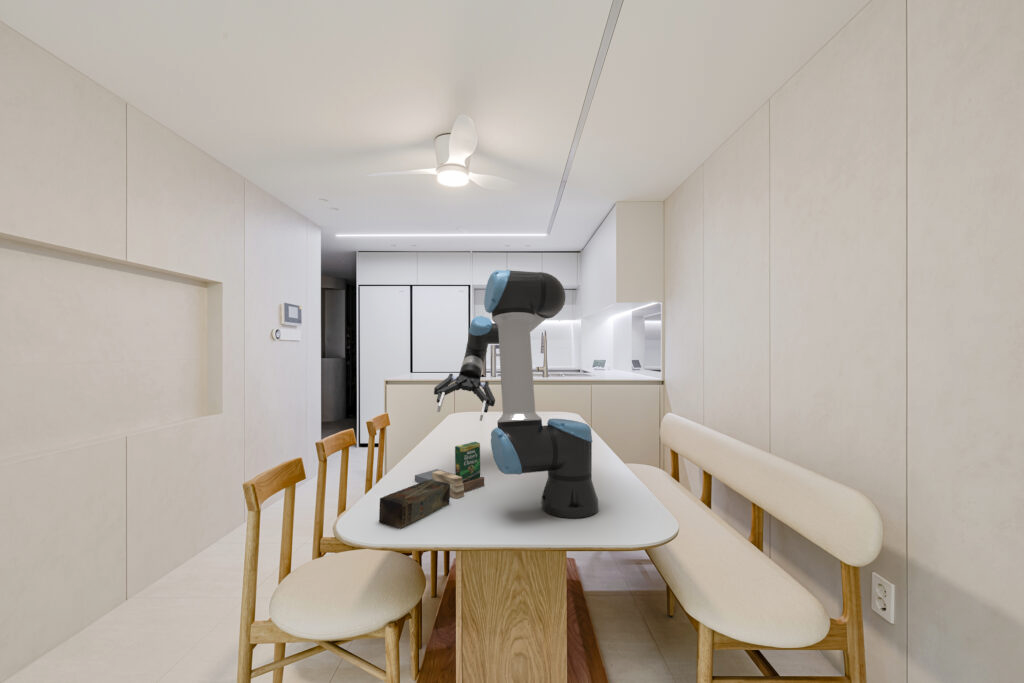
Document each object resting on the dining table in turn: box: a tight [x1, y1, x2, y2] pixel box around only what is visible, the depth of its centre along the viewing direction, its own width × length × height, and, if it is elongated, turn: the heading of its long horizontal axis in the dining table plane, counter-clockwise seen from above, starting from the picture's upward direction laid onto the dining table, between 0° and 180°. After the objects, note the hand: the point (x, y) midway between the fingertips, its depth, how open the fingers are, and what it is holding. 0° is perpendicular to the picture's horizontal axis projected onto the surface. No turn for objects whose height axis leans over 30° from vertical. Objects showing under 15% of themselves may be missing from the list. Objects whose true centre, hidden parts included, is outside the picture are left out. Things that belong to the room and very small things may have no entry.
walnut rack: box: [463, 476, 485, 493], centre depth 133 cm, size 6×8×2 cm
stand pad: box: [414, 468, 455, 484], centre depth 138 cm, size 9×9×2 cm
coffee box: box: [454, 441, 481, 483], centre depth 133 cm, size 8×3×13 cm, turn 133°
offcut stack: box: [432, 469, 465, 499], centre depth 127 cm, size 11×3×5 cm, turn 49°
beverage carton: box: [378, 479, 451, 529], centre depth 112 cm, size 8×19×7 cm, turn 150°
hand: (460, 413), depth 136 cm, fingers open, 13 cm apart
